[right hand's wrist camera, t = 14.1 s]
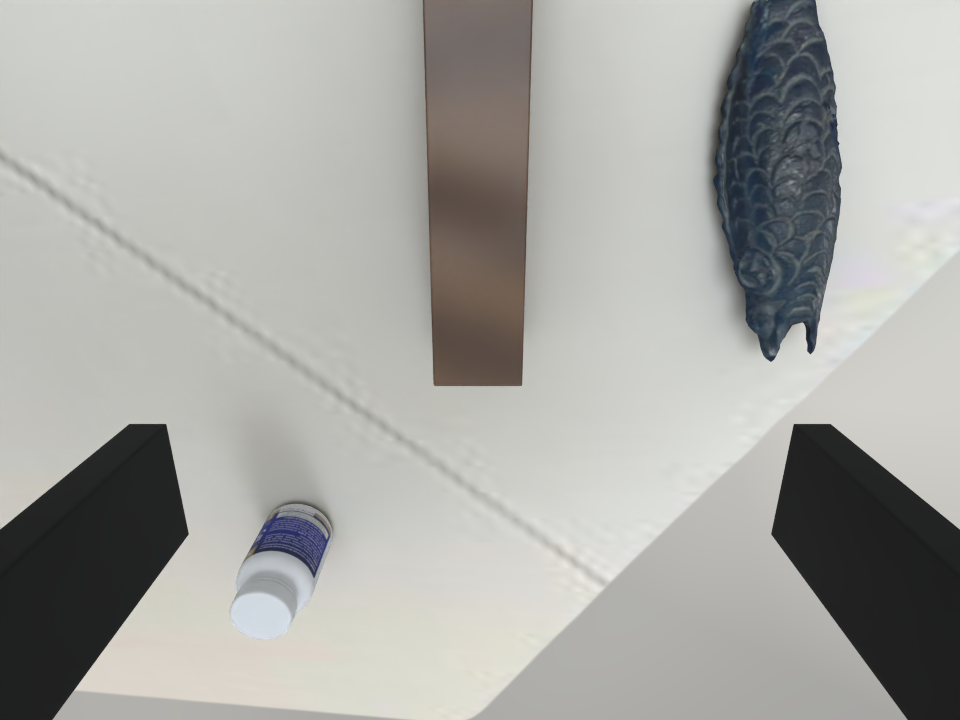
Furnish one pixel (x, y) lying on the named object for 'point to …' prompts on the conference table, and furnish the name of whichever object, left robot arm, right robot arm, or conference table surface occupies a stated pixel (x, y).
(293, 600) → the pill bottle
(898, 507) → the right robot arm
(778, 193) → the fish model
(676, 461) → the conference table surface
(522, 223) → the beam
